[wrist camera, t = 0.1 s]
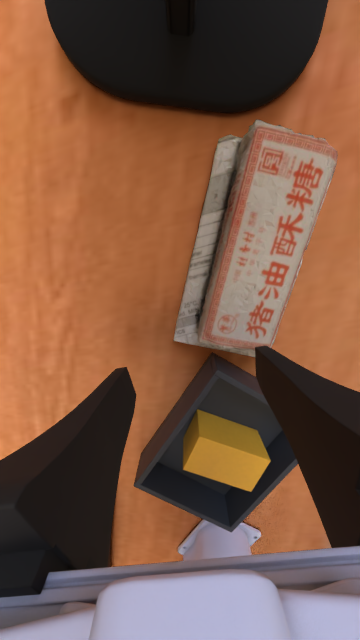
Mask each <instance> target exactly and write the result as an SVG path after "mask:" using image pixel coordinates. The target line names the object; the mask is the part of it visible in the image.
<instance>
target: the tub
mask: <svg viewBox="0 0 360 640" xmlns="http://www.w3.org/2000/svg"><path fill="white" fill-rule="evenodd" d="M197 409H198V410H201V411H204V412H207V413H210V414H212V415H215V416H218V417H221V418H224V419H227V420H229V421H232V422H235V423H238V424H241V425H244V426H247V427H249V428H252V429H255V430H257V431H258V433H259V435H260V438H261V440H262V442H263V444H264V447H265V449H266V451H267V453H268V456H269V458H270V460H271V461H270V463H269V464H268V466H267V468H266V469H265V471H264V472H263V474H262V476H261V477H260V479H259V480H258V482H257V484H256V485H255V487H254V488H253V490H252V491H251V492H250V491H247V490H243V489H240V488H237V487H234V486H231V485H228V484H225V483H222V482H219V481H216V480H213V479H210V478H207V477H204V476H201V475H198V474H195V473H192V472H189V471H186V470H183V438H184V436H185V434H186V432H187V429H188V427H189V425H190V423H191V421H192V419H193V417H194V415H195V413H196V411H197ZM297 464H298V462H297V459H296V457H295V455H294V453H293V450H292V448H291V446H290V443H289V441H288V439H287V437H286V435H285V433H284V431H283V429H282V428H281V426H280V424H279V422H278V420H277V419H276V417H275V415H274V413H273V412H272V410H271V408H270V406H269V404H268V402H267V401H266V399H265V397H264V395H263V393H262V391H261V388H260V386H259V383H258V381H257V378H256V377H254V376H252V375H251V374H249V373H247V372H246V371H244V370H242V369H240V368H239V367H237V366H235V365H234V364H232V363H230V362H228V361H227V360H225V359H223V358H222V357H220V356H218V355H216V354H215V353H213V352H212V353H211V354H210V356H209V357H208V359H207V360H206V361H205V363H204V364H203V366H202V367H201V369H200V370H199V372H198V373H197V374H196V376H195V377H194V379H193V380H192V382H191V383H190V384H189V386H188V387H187V389H186V390H185V392H184V393H183V394H182V396H181V397H180V399H179V400H178V402H177V403H176V404H175V406H174V407H173V409H172V410H171V412H170V413H169V415H168V416H167V417H166V419H165V420H164V422H163V423H162V425H161V426H160V427H159V429H158V430H157V432H156V433H155V435H154V436H153V437H152V439H151V440H150V442H149V443H148V445H147V446H146V448H145V449H144V450H143V452H142V453H141V456H140V461H139V465H138V469H137V473H136V478H135V482H134V487H136V488H139V489H141V490H143V491H145V492H147V493H149V494H151V495H153V496H155V497H158V498H160V499H162V500H164V501H166V502H168V503H170V504H172V505H174V506H176V507H179V508H181V509H183V510H185V511H187V512H189V513H191V514H193V515H195V516H197V517H200V518H202V519H204V520H206V521H208V522H210V523H212V524H214V525H216V526H218V527H221V528H223V529H225V530H227V531H229V532H233V531H234V529H236V528H237V527H238V525H239V524H240V523H241V522H242V521H243V520H244V519H245V518H246V517H247V516H248V515H249V514H250V513H251V512H252V511H253V510H254V509H255V508H256V507H257V506H258V505H259V504H260V503H261V502H262V500H263V499H264V498H265V497H266V496H267V495H268V494H269V493H270V492H271V491H272V490H273V489H274V488H275V487H276V486H277V485H278V484H279V483H280V482H281V481H282V480H283V479H284V478H285V477H286V475H287V474H288V473H289V472H290V471H291V470H292V469H293V468H294V467H295V466H296V465H297Z"/></svg>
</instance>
